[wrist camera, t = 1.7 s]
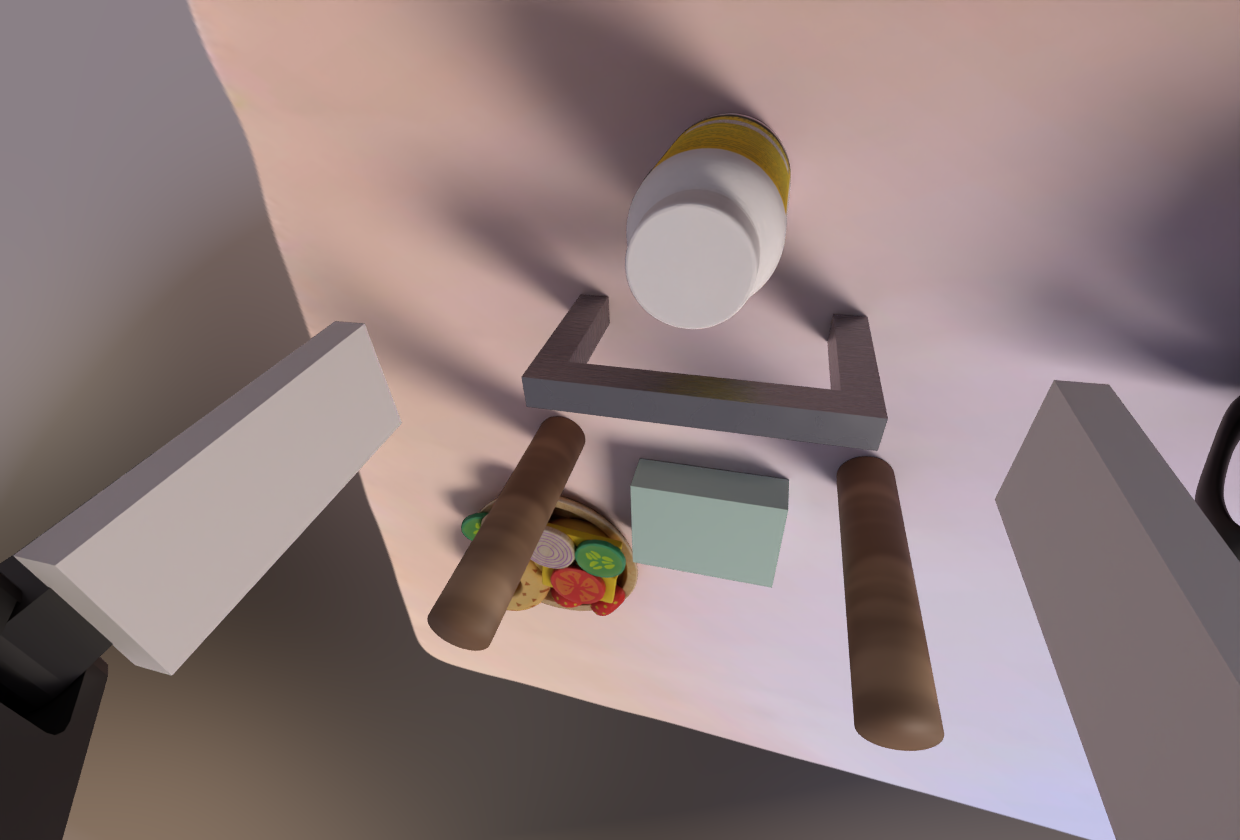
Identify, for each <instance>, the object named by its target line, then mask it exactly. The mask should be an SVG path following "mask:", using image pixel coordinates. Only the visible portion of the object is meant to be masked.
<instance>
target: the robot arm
mask: <svg viewBox="0 0 1240 840" xmlns="http://www.w3.org/2000/svg"><path fill="white" fill-rule="evenodd" d="M401 423H402V422H401V419H400V416H399V414H398V411H397V408H396V406H395V403H394V400H393V398H392V395H391V392H390V390H389V387H388V384H387V382H386V379H385V376H384V374H383V371H382V368H381V366H380V363H379V360H378V358H377V355H376V352H375V350H374V347H373V344H372V342H371V339H370V336H369V334H368V331H367V328H366V326H365V324H363V323H351V322H339V321H335V322H333V323H332V324H331V325H329V326H328V327H327V328H325V329H324V330H322V331H321V332H320V333H318V334H317V335H316V336H314V337H313V338H311V339H310V340H309V341H307V342H306V343H305V344H303V345H302V346H300V347H299V348H298V349H296V350H295V351H294V352H292V353H291V354H289V355H288V356H287V357H285V358H284V359H283V360H281V361H280V362H278V363H277V364H276V365H274V366H273V367H272V368H271V369H269V370H267V371H266V372H265V373H263V374H262V375H261V376H259V377H258V378H256V379H255V380H254V381H252V382H251V383H250V384H248V385H247V386H246V387H244V388H243V389H241V390H240V391H239V392H237V393H236V394H234V395H233V396H232V397H230V398H229V399H228V400H226V401H225V402H223V403H222V404H221V405H219V406H218V407H217V408H215V409H214V410H212V411H211V412H210V413H208V414H207V415H206V416H204V417H203V418H201V419H200V420H199V421H197V422H196V423H195V424H193V425H192V426H191V427H189V428H188V429H186V430H185V431H184V432H182V433H181V434H179V435H178V436H177V437H175V438H174V439H173V440H171V441H170V442H169V443H167V444H166V445H164V446H163V447H162V448H160V449H159V450H158V451H156V452H155V453H153V454H151V455H150V456H149V457H147V458H146V459H145V460H143V461H142V462H140V463H139V464H138V465H136V466H135V467H133V468H132V469H131V470H129V471H128V472H127V473H126V474H125V475H123V476H122V477H120V478H118V479H117V480H116V481H115V482H113V483H112V484H110V485H109V486H107V487H106V488H105V489H103V491H101V492H100V493H99V494H96V495H95V496H94V497H92V498H91V499H89V500H88V501H87V502H85V503H84V504H83V505H81V506H80V507H79V508H77V509H76V510H74V511H73V512H72V513H70V514H69V515H67V516H66V517H65V518H63V519H62V520H61V521H59V522H58V523H56V524H55V525H54V526H52V527H51V528H50V529H48V530H47V531H45V532H44V533H43V534H41V535H40V536H39V537H37V538H36V539H34V540H33V541H32V542H31V543H29V544H28V545H26V546H25V547H23V548H22V549H21V550H19V551H18V552H17V553H15V554H14V555H13V556H11V557H9V558H8V559H6V560H5V561H3V562H2V563H0V840H62V838H63V835H64V831H65V828H66V824H67V821H68V817H69V813H70V810H71V806H72V802H73V798H74V795H75V792H76V788H77V785H78V781H79V778H80V774H81V770H82V767H83V763H84V760H85V756H86V753H87V749H88V745H89V741H90V738H91V735H92V731H93V727H94V724H95V720H96V717H97V713H98V710H99V706H100V702H101V699H102V695H103V692H104V688H105V684H106V681H107V677H108V664H107V663H106V662H105V661H104V660H103V659H102V658H101V657H100V656H101V655H102V654H103V653H104V652H105V651H106V650H107V649H108V648H109V647H110V646H111V645H113V646H115V647H116V648H117V649H118V650H119V651H120V652H121V653H123V655H124V656H126V657H127V658H128V659H129V660H130V661H131V662H132V663H134V664H135V665H137V666H141V667H144V668H147V669H151V670H154V671H158V672H161V673H165V674H168V675H173V674H174V673H175V671H176V670H177V669H178V668H179V667H180V666H181V665H182V664H183V663H184V662H185V660H186V659H187V658H188V657H189V656H190V655H191V654H192V652H194V651H195V649H196V648H197V647H198V646H199V645H200V644H201V643H202V642H203V641H204V639H206V637H207V636H208V635H209V634H210V633H211V632H212V631H213V630H214V628H216V626H217V625H218V624H219V623H220V622H221V621H222V620H223V619H224V618H225V617H226V615H227V614H228V613H229V612H230V611H231V610H232V609H233V608H234V607H235V606H236V605H237V603H238V602H239V601H240V600H241V599H242V598H243V597H244V596H245V594H247V592H248V591H249V590H250V589H251V588H252V587H253V586H254V585H255V584H256V583H257V581H258V580H259V579H260V578H261V577H262V576H263V574H265V573H266V572H267V570H268V569H269V568H270V567H271V566H272V565H273V564H274V563H275V562H276V561H277V559H278V558H279V557H280V556H281V555H282V554H283V553H284V552H285V551H286V550H287V549H288V547H289V546H290V545H291V544H292V543H293V542H294V541H295V540H296V539H297V537H298V536H299V535H300V534H301V533H302V532H303V531H304V530H305V529H306V528H307V527H308V525H309V524H310V523H311V522H312V521H313V520H314V519H315V518H316V517H317V516H318V515H319V513H320V512H321V511H322V510H323V509H324V508H325V507H326V506H327V505H328V503H329V502H330V501H331V500H332V499H333V498H334V497H335V496H336V495H337V494H338V493H339V491H340V490H341V489H342V488H343V487H344V486H345V485H346V484H347V483H348V482H349V480H350V479H351V478H352V477H353V476H354V475H355V474H356V473H357V472H358V471H359V470H360V468H361V467H362V466H363V465H364V464H365V463H366V462H367V461H368V460H369V459H370V457H371V456H372V455H373V454H374V453H375V452H376V451H377V450H378V449H379V448H380V447H381V445H382V444H383V443H384V442H385V441H386V440H387V439H388V438H389V437H390V436H391V434H392V433H393V432H394V431H395V430H396V429H397V428H398V427H399V426H400V425H401ZM995 501H996V504H997V507H998V509H999V512H1000V515H1001V518H1002V521H1003V523H1004V526H1005V529H1006V532H1007V535H1008V537H1009V540H1010V543H1011V546H1012V549H1013V551H1014V554H1015V557H1016V560H1017V563H1018V566H1019V568H1020V571H1021V574H1022V577H1023V580H1024V582H1025V585H1026V588H1027V591H1028V594H1029V596H1030V599H1031V602H1032V605H1033V608H1034V610H1035V613H1036V616H1037V619H1038V622H1039V624H1040V627H1041V630H1042V633H1043V636H1044V638H1045V641H1046V644H1047V647H1048V650H1049V653H1050V655H1051V658H1052V661H1053V664H1054V667H1055V669H1056V672H1057V675H1058V678H1059V681H1060V683H1061V686H1062V689H1063V692H1064V695H1065V697H1066V700H1067V703H1068V706H1069V709H1070V711H1071V714H1072V717H1073V720H1074V723H1075V725H1076V728H1077V731H1078V734H1079V737H1080V740H1081V742H1082V745H1083V748H1084V751H1085V754H1086V756H1087V759H1088V762H1089V765H1090V768H1091V770H1092V773H1093V776H1094V779H1095V782H1096V784H1097V787H1098V790H1099V793H1100V796H1101V798H1102V801H1103V804H1104V807H1105V810H1106V813H1107V815H1108V818H1109V821H1110V824H1111V827H1112V829H1113V832H1114V835H1115V838H1116V840H1240V562H1239V560H1238V559H1237V558H1236V556H1235V555H1234V554H1233V552H1232V551H1231V550H1230V548H1229V547H1228V545H1227V544H1226V543H1225V541H1224V540H1223V539H1222V537H1221V536H1220V535H1219V533H1218V532H1217V531H1216V529H1215V528H1214V526H1213V525H1212V524H1211V522H1210V521H1209V520H1208V518H1207V517H1206V516H1205V514H1204V513H1203V512H1202V510H1201V509H1200V507H1199V506H1198V505H1197V503H1196V502H1195V501H1194V499H1193V498H1192V497H1191V495H1190V494H1189V492H1188V491H1187V490H1186V488H1185V487H1184V486H1183V484H1182V483H1181V482H1180V480H1179V479H1178V478H1177V476H1176V475H1175V473H1174V472H1173V471H1172V469H1171V468H1170V467H1169V465H1168V464H1167V463H1166V461H1165V460H1164V459H1163V457H1162V456H1161V454H1160V453H1159V452H1158V450H1157V449H1156V448H1155V446H1154V445H1153V444H1152V442H1151V441H1150V440H1149V438H1148V437H1147V435H1146V434H1145V433H1144V431H1143V430H1142V429H1141V427H1140V426H1139V425H1138V423H1137V422H1136V421H1135V419H1134V418H1133V416H1132V415H1131V414H1130V412H1129V411H1128V410H1127V408H1126V407H1125V406H1124V404H1123V403H1122V402H1121V400H1120V399H1119V397H1118V396H1117V395H1116V393H1115V392H1114V391H1113V389H1112V388H1111V387H1110V385H1108V384H1095V383H1083V382H1071V381H1059V380H1054V381H1053V383H1052V385H1051V387H1050V389H1049V391H1048V393H1047V395H1046V397H1045V399H1044V401H1043V403H1042V405H1041V407H1040V409H1039V411H1038V413H1037V415H1036V417H1035V419H1034V421H1033V423H1032V425H1031V428H1030V430H1029V432H1028V434H1027V436H1026V438H1025V440H1024V442H1023V444H1022V446H1021V448H1020V450H1019V452H1018V454H1017V456H1016V458H1015V460H1014V462H1013V464H1012V466H1011V468H1010V470H1009V472H1008V474H1007V476H1006V478H1005V480H1004V482H1003V484H1002V486H1001V488H1000V490H999V492H998V494H997V496H996V498H995Z"/></svg>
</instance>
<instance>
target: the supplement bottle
mask: <svg viewBox="0 0 1240 840" xmlns="http://www.w3.org/2000/svg"><path fill="white" fill-rule="evenodd" d="M790 186H791V171H790V164H789V159H788V156H787V153H786V151H785V148H784V146H783V144H782V143H781V141H780V139H779V138H778V137H777V135H776V134H775V133H774V132H773V131H772V130H771V129H770V128H769V127H768V126H766V125H765V124H764V123H762V122H760V121H759V120H757V119H755V118H753V117H750V116H747V115H742V114H735V113H726V114H719V115H714V116H710V117H708V118H705V119H703V120H701V121H699V122H697V123H695V124H694V125H692V126H691V127H690V128H688V129H687V130H686V131H685V132H684V133H682V135H681V136H680V137H678V139H677V140H676V141H675V142H674V144H673V145H672V146H671V147H670V148H669V150H668V151H667V152H666V153H665V155H664V156H663V157H662V158H661V160H660V161H659V162H658V163H657V164H656V166H655V167H654V168H653V169H652V170H651V171H650V172H649V174H648V175H647V176H646V178H645V179H644V181H643V182H642V184H641V186H640V187H639V189H638V190H637V192H636V194H635V196H634V198H633V200H632V203H631V206H630V209H629V213H628V218H627V226H626V238H627V246H628V247H627V250H626V256H625V270H626V277H627V281H628V284H629V287H630V289H631V292H632V293H633V295H634V297H635V298H636V300H637V301H638V303H639V304H640V305H641V306H642V308H644V309H645V310H646V311H647V312H648V313H649V314H650V315H651V316H653V317H654V318H656V319H657V320H659V321H661V322H663V323H665V324H668V325H671V326H674V327H677V328H684V329H702V328H708V327H711V326H715V325H717V324H720V323H722V322H723V321H725V320H727V319H729V318H730V317H732V316H733V315H734V314H735V313H737V312H738V311H739V310H740V309H741V308H742V307H743V305H744V304H745V303H746V301H747V300H748V298H749V297H751V296H752V295H753V294H755V293H756V292H757V291H758V290H759V289H760V288H761V287H762V286H763V285H764V284H765V283H766V282H767V281H768V279H769V278H770V277H771V275H772V274H773V272H774V270H775V269H776V267H777V265H778V262H779V260H780V258H781V255H782V251H783V248H784V243H785V236H786V225H787V215H788V205H789V196H790Z"/></svg>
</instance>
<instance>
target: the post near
mask: <svg viewBox="0 0 1240 840" xmlns="http://www.w3.org/2000/svg"><path fill="white" fill-rule="evenodd" d="M837 492H838V505H839V519H840V533H841V547H842V561H843V574H844V588H845V602H846V616H847V630H848V643H849V657H850V671H851V685H852V699H853V713H854V726H855V729H856V731H857V732H858V734H859V735H861V736H862V737H863V738H864V739H866V740H868V741H869V742H871V743H874V744H876V745H879V746H882V747H885V748H890V749H895V750H904V751H916V750H924V749H928V748H932V747H934V746H936V745H938V744H939V743H940V742H941V741H942V740H943V738H944V730H943V725H942V720H941V715H940V709H939V704H938V699H937V694H936V689H935V683H934V678H933V673H932V668H931V663H930V657H929V652H928V647H927V642H926V636H925V631H924V626H923V621H922V616H921V610H920V605H919V600H918V595H917V590H916V584H915V579H914V574H913V569H912V563H911V558H910V553H909V548H908V543H907V537H906V532H905V527H904V522H903V516H902V511H901V506H900V501H899V496H898V490H897V485H896V480H895V475H894V471H893V469H892V467H891V466H890V465H889V464H888V463H887V462H885V461H883V460H881V459H879V458H875V457H868V456H863V457H857V458H853V459H851V460H848V461H847V462H845V463H844V464H843V465H841V467H840V468H839V469H838V472H837Z"/></svg>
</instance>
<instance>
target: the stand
mask: <svg viewBox="0 0 1240 840" xmlns="http://www.w3.org/2000/svg"><path fill="white" fill-rule="evenodd" d="M630 489H631V518H632V548H633V562H635V563H641V564H646V565H652V566H657V567H662V568H668V569H673V570H679V571H684V572H690V573H695V574H701V575H706V576H712V577H717V578H722V579H728V580H733V581H739V582H744V583H750V584H755V585H761V586H766V587H772V585H773V580H774V575H775V570H776V565H777V561H778V556H779V551H780V546H781V542H782V537H783V532H784V527H785V523H786V518H787V513H788V495H789V480H788V479H781V478H774V477H767V476H760V475H753V474H745V473H738V472H731V471H724V470H717V469H710V468H703V467H696V466H689V465H682V464H675V463H668V462H661V461H653V460H646V459H639V462H638V465H637V468H636V471H635V474H634V477H633V480H632V483H631V486H630Z"/></svg>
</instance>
